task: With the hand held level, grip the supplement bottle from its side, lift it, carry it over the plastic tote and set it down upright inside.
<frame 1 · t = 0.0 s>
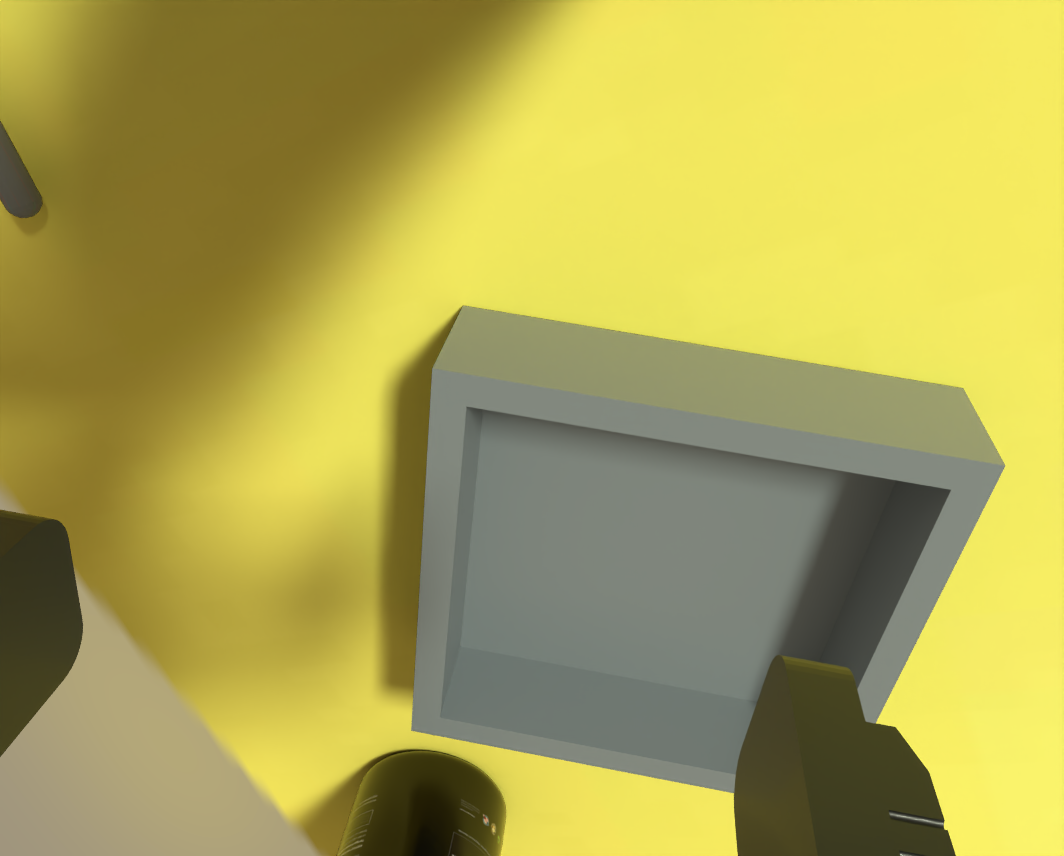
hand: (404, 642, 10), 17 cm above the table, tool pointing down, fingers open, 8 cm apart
tote: (660, 537, 30), on the table
supplement bottle: (437, 789, 40), on the table
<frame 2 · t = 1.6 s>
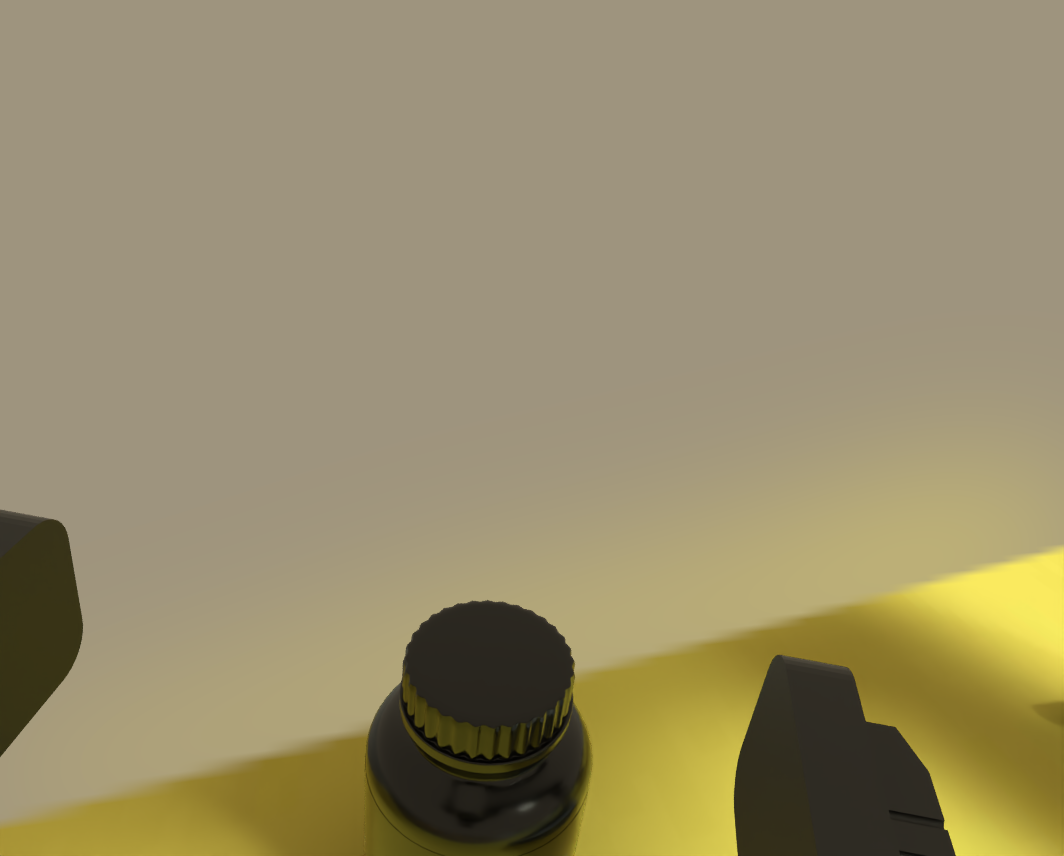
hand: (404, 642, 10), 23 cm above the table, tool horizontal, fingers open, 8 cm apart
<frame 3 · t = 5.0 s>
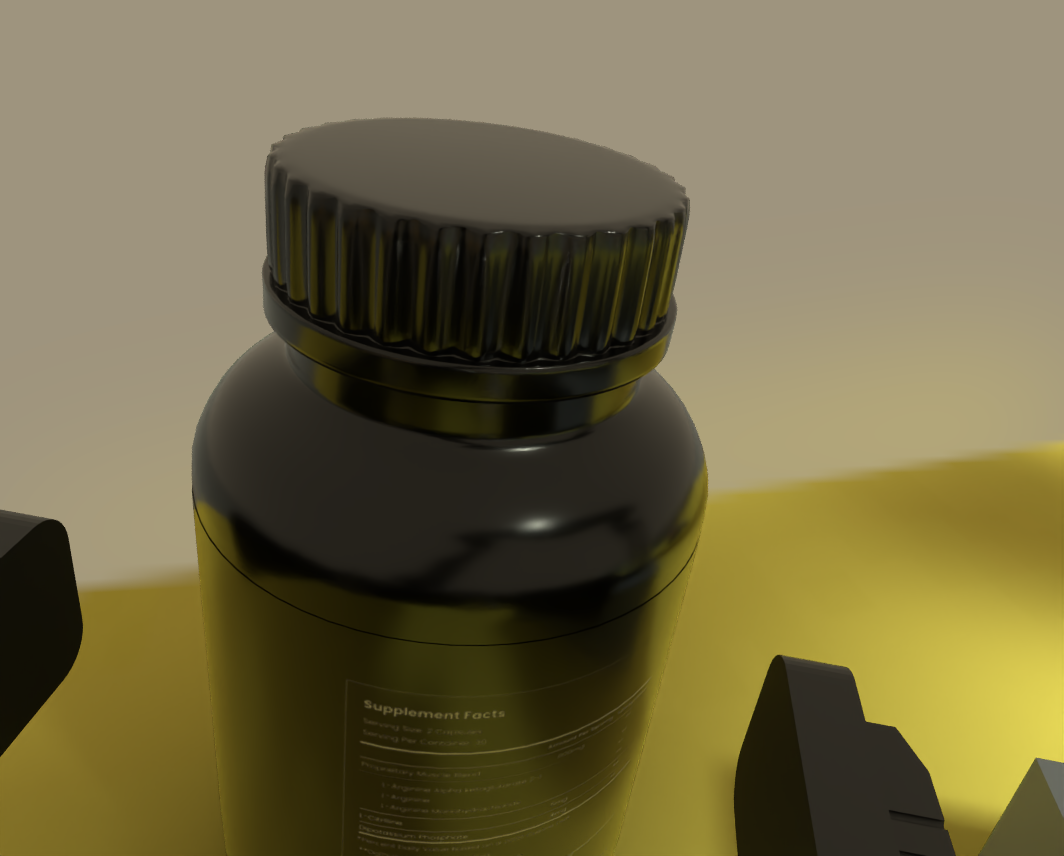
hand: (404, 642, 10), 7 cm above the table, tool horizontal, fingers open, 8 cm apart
supplement bottle: (422, 837, 16), on the table
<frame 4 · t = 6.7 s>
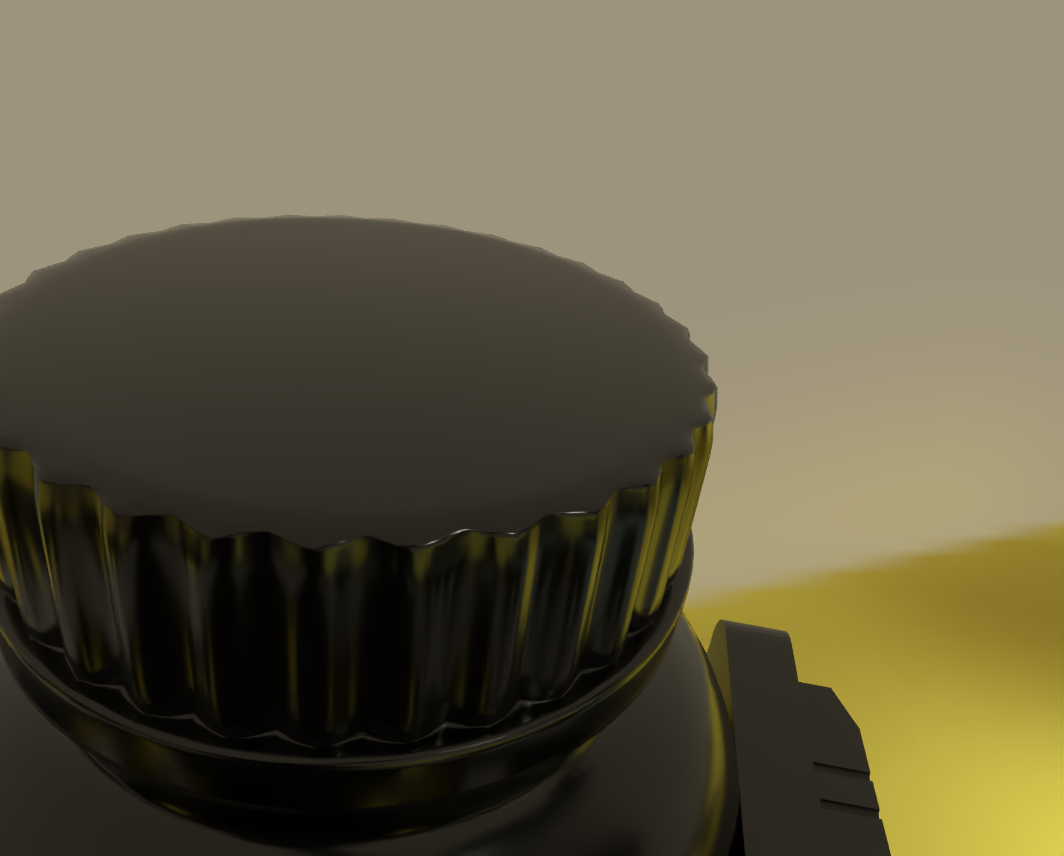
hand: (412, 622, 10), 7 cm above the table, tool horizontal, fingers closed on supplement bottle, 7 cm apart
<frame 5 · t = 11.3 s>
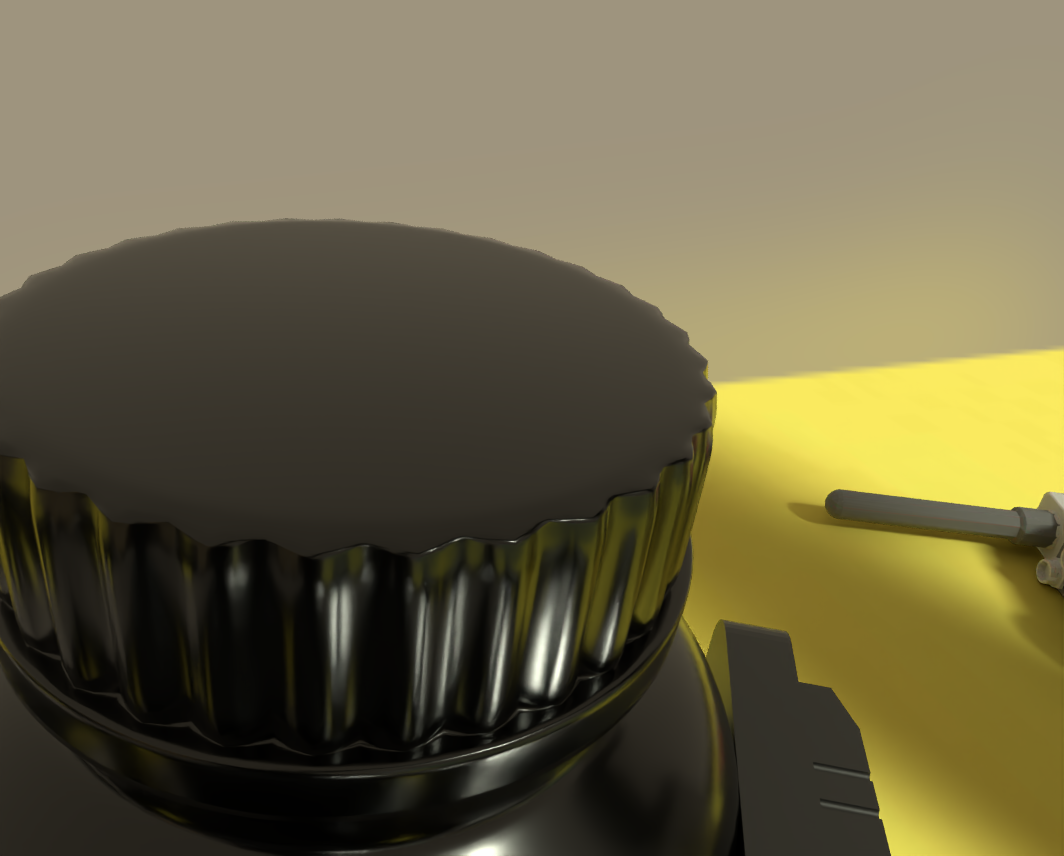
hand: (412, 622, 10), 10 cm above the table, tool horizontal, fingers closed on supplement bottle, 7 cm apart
when the fingers open (10 cm above the table, at t = 12.0 s): supplement bottle drops 2 cm, resting on tote.
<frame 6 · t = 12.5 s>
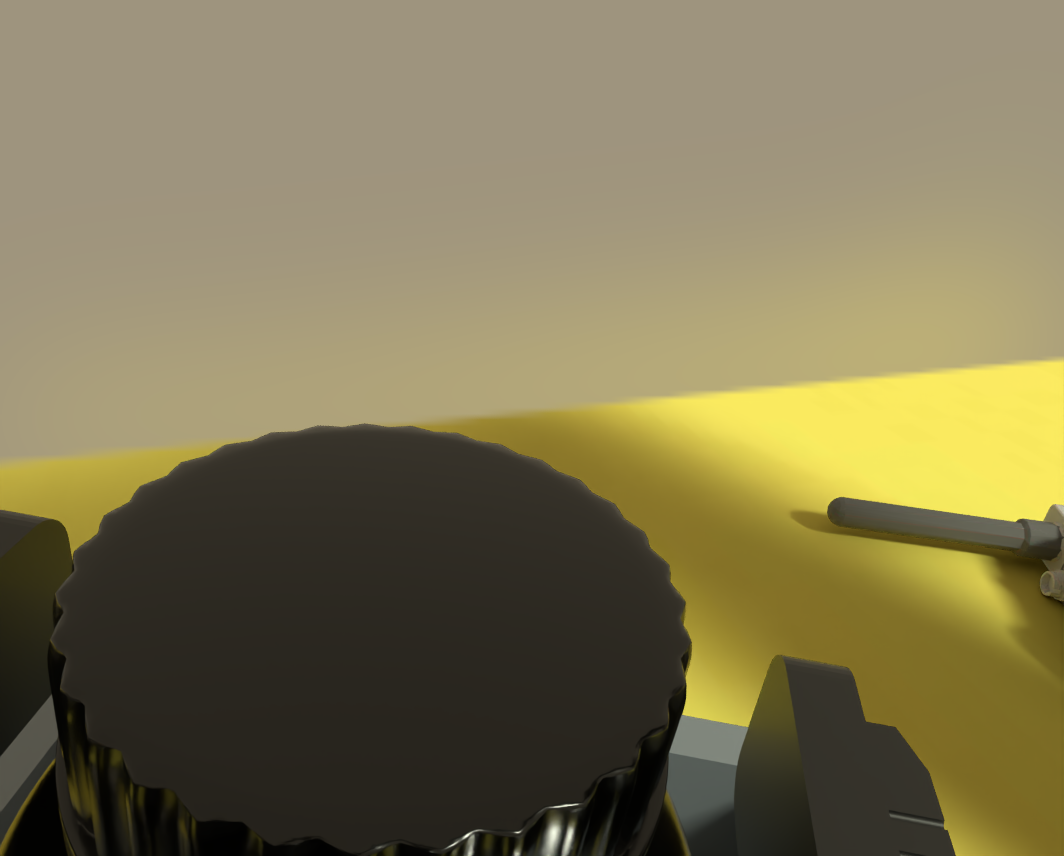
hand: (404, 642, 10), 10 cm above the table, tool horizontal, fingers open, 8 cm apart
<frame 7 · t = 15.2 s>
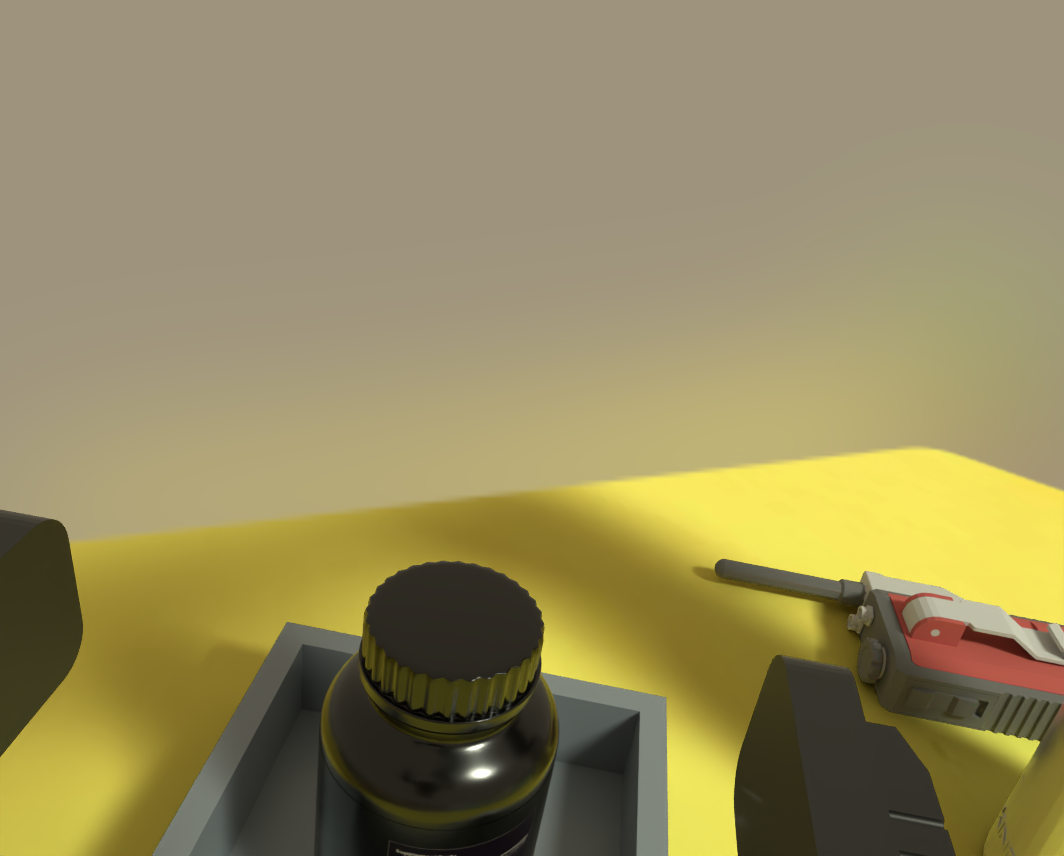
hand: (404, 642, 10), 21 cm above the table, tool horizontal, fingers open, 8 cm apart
walkie-talkie: (907, 667, 45), on the table
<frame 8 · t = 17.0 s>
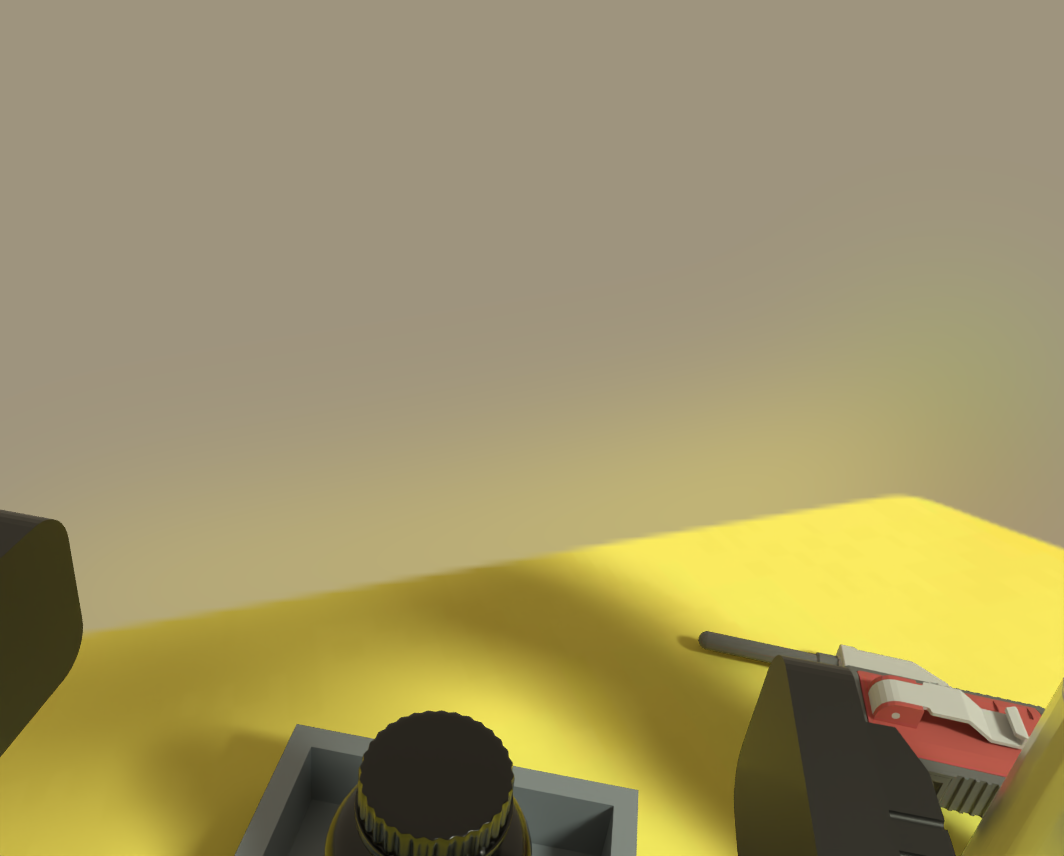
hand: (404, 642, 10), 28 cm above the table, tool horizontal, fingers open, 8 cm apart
walkie-talkie: (875, 740, 48), on the table
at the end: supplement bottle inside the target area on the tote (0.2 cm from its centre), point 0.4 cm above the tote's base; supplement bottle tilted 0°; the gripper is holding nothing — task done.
